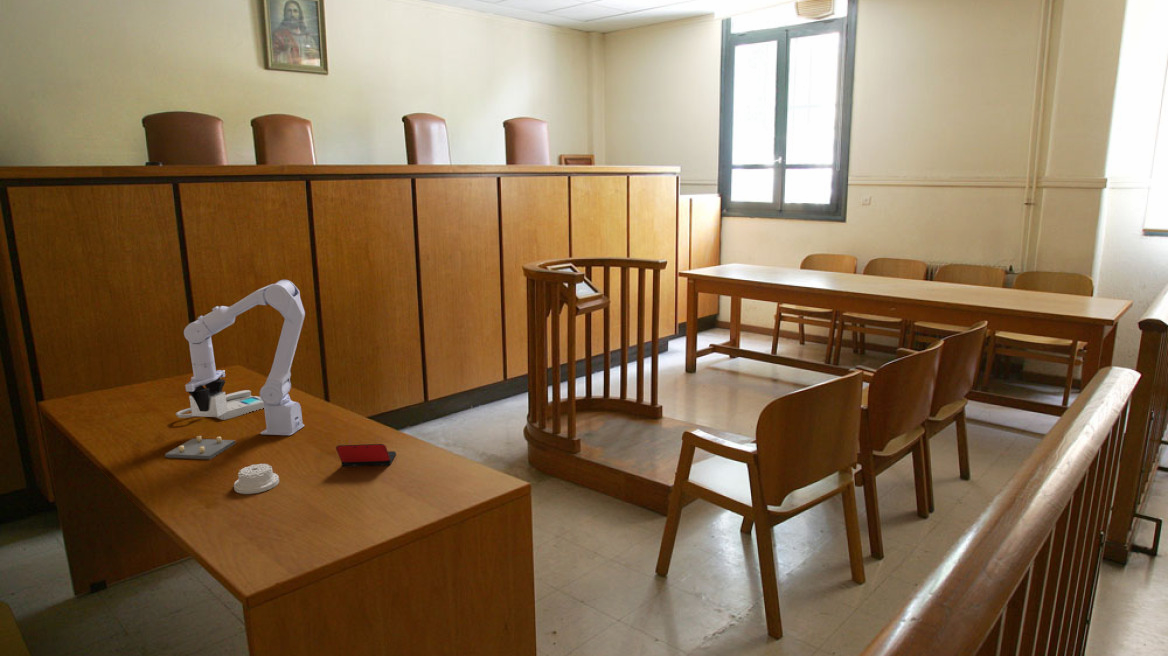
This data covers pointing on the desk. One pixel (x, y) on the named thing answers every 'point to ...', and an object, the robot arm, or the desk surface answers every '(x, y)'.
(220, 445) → the tray
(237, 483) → the mechanical component
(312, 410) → the desk surface
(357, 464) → the handheld game console
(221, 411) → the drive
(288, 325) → the robot arm
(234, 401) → the intercom
